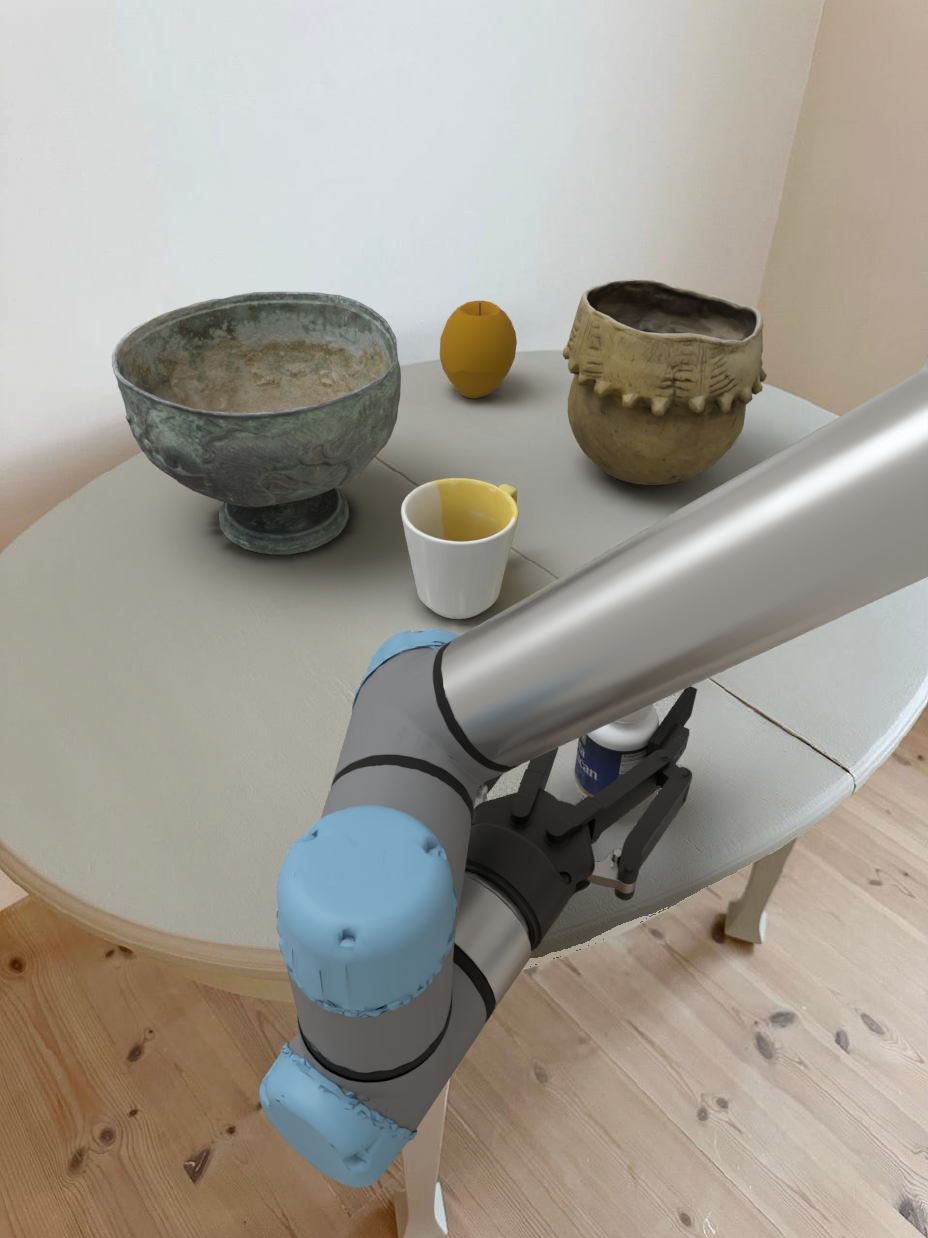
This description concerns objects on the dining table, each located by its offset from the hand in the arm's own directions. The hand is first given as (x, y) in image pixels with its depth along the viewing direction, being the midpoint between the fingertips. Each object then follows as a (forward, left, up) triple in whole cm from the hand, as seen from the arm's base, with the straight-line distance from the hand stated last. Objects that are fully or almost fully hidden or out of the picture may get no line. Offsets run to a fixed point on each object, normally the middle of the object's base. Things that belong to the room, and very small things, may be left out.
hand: (650, 684), depth 71 cm
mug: (+22, -10, -8) cm, 25 cm away
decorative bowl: (+45, -9, -8) cm, 47 cm away
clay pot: (+18, -40, -8) cm, 44 cm away
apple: (+44, -45, -8) cm, 63 cm away
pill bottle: (0, +5, -6) cm, 8 cm away
